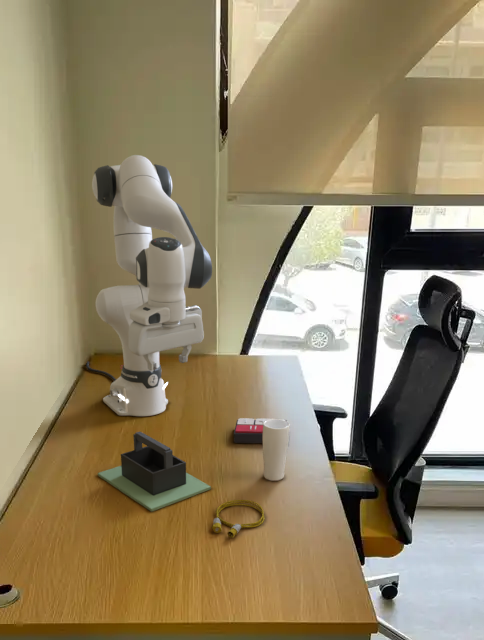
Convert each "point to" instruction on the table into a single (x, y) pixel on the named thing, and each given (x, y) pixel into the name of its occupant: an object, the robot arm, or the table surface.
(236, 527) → the extension cord
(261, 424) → the calculator
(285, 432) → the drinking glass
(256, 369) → the table surface
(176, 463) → the caddy bin
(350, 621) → the table surface
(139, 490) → the desk mat
